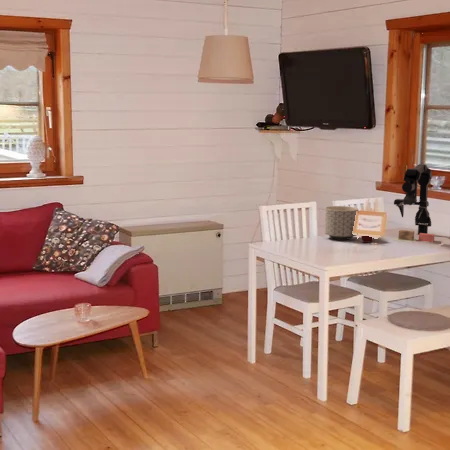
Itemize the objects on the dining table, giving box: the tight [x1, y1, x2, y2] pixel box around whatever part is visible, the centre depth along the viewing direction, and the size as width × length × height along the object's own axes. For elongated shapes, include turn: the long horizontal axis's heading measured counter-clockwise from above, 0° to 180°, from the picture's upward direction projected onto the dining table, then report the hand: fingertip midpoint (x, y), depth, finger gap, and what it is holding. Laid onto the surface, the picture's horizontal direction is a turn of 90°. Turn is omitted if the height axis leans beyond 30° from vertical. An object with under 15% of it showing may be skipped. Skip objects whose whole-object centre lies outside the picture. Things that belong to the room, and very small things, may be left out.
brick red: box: [418, 233, 436, 243], centre depth 436 cm, size 8×4×5 cm, turn 60°
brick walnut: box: [397, 229, 415, 241], centre depth 439 cm, size 8×4×5 cm, turn 60°
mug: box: [361, 236, 373, 244], centre depth 433 cm, size 10×8×10 cm
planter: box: [324, 205, 359, 241], centre depth 443 cm, size 19×19×18 cm
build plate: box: [393, 236, 419, 243], centre depth 439 cm, size 12×12×1 cm
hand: (410, 217), depth 432 cm, fingers open, 9 cm apart
